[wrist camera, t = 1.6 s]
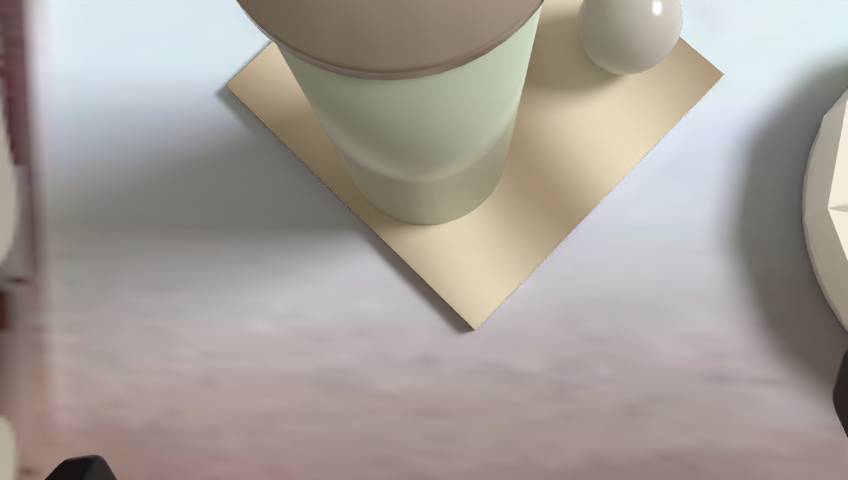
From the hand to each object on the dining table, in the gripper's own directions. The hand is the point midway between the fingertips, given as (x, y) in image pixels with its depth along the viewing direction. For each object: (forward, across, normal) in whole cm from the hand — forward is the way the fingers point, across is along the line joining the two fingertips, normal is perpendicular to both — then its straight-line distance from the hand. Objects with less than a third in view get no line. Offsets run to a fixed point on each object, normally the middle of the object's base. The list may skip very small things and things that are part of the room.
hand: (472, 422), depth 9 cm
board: (+16, -2, +3) cm, 16 cm away
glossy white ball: (+16, -6, +2) cm, 17 cm away
